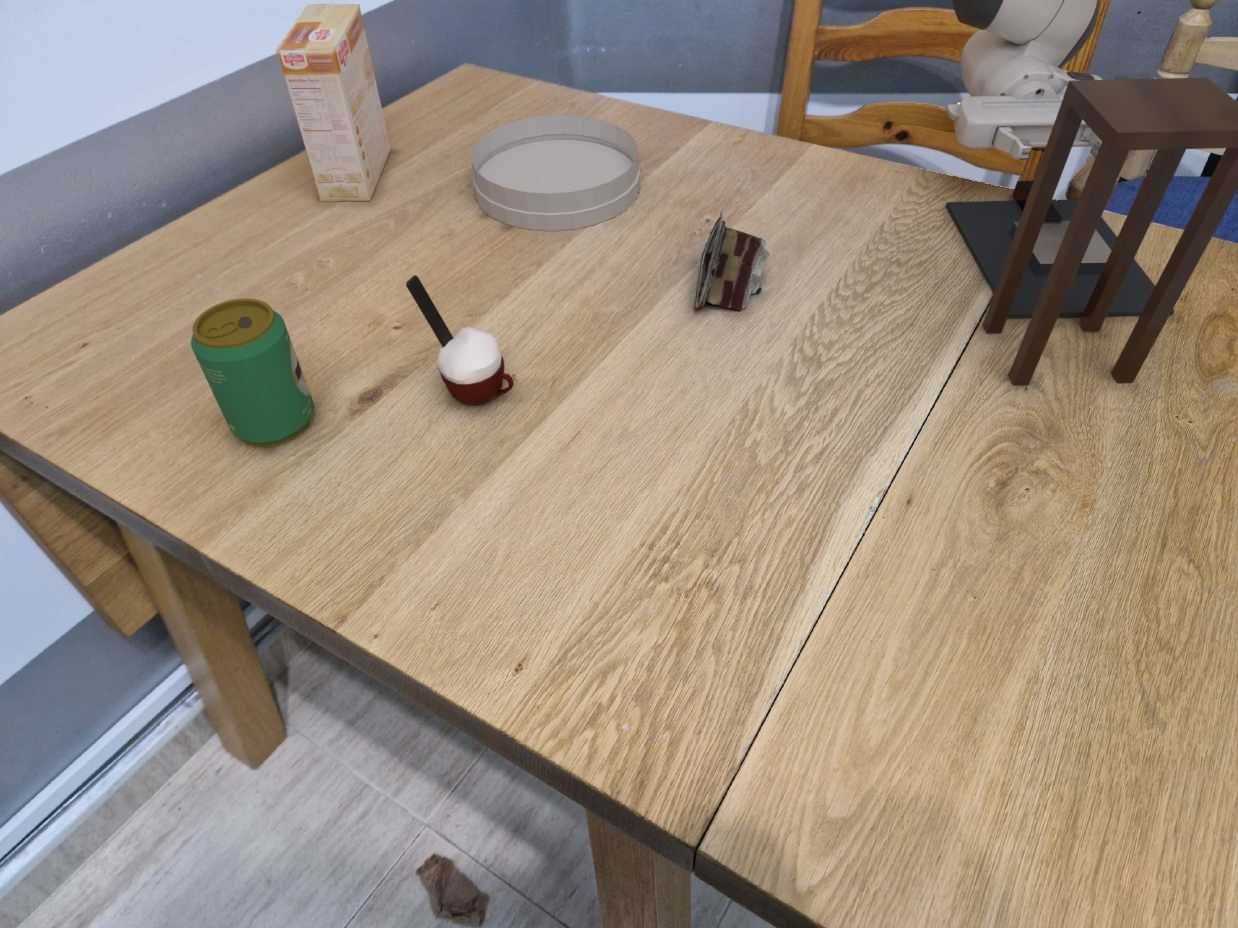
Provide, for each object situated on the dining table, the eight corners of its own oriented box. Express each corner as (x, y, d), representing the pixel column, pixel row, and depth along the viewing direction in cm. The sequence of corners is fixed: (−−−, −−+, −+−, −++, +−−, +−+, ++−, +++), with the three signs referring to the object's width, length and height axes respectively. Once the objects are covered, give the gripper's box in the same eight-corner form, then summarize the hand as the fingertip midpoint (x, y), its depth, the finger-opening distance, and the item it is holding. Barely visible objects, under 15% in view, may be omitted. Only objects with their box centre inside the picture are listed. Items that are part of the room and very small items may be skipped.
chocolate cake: (756, 328, 94) (790, 221, 93) (695, 308, 93) (728, 200, 93) (737, 334, 103) (767, 238, 103) (681, 316, 103) (712, 219, 102)
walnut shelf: (1093, 322, 93) (1208, 77, 74) (1133, 382, 86) (1270, 129, 67) (982, 324, 93) (1068, 80, 74) (1013, 385, 86) (1117, 132, 67)
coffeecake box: (343, 149, 124) (306, 3, 110) (393, 149, 124) (362, 2, 110) (317, 202, 113) (272, 48, 99) (371, 202, 113) (334, 47, 99)
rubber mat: (1086, 203, 110) (1087, 199, 110) (1172, 315, 94) (1174, 310, 93) (945, 206, 110) (946, 201, 110) (1006, 318, 94) (1008, 314, 93)
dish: (674, 187, 115) (675, 151, 111) (547, 251, 104) (544, 214, 101) (565, 134, 126) (563, 100, 123) (441, 187, 116) (435, 151, 112)
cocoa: (526, 400, 86) (514, 299, 77) (473, 428, 83) (455, 328, 74) (473, 355, 91) (456, 256, 82) (422, 380, 88) (398, 281, 79)
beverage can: (326, 431, 83) (290, 331, 74) (242, 461, 80) (194, 361, 72) (304, 384, 88) (268, 285, 79) (224, 411, 85) (177, 311, 76)
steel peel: (1056, 194, 111) (1062, 180, 109) (1114, 274, 98) (1121, 258, 97) (986, 195, 111) (991, 181, 109) (1035, 275, 98) (1041, 260, 97)
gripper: (948, 78, 107) (982, 128, 98) (1112, 75, 107) (1163, 124, 98) (935, 127, 112) (967, 180, 102) (1093, 124, 112) (1139, 176, 102)
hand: (1064, 153), depth 100 cm, fingers open, 8 cm apart
